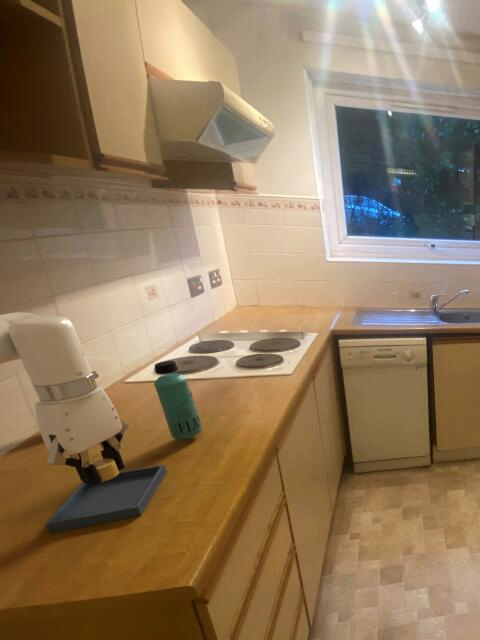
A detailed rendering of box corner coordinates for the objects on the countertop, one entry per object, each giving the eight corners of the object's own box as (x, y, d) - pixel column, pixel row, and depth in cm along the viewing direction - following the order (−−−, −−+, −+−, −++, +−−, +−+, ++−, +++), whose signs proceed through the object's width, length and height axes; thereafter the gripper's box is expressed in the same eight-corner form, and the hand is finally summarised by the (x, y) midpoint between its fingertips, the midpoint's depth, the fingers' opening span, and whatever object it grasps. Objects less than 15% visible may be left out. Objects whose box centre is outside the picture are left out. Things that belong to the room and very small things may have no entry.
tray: (49, 533, 76) (44, 524, 75) (90, 485, 89) (86, 477, 88) (141, 515, 81) (137, 506, 80) (167, 472, 94) (164, 464, 93)
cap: (85, 481, 81) (79, 469, 80) (106, 469, 85) (100, 457, 84) (105, 483, 81) (99, 470, 80) (124, 471, 85) (120, 458, 83)
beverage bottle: (181, 447, 103) (155, 369, 95) (167, 440, 106) (140, 364, 98) (210, 436, 108) (187, 360, 101) (196, 429, 111) (173, 356, 104)
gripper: (94, 370, 84) (127, 451, 91) (-10, 407, 68) (39, 502, 75) (130, 371, 83) (160, 453, 90) (33, 409, 68) (78, 504, 75)
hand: (104, 474), depth 83 cm, fingers closed on cap, 4 cm apart
